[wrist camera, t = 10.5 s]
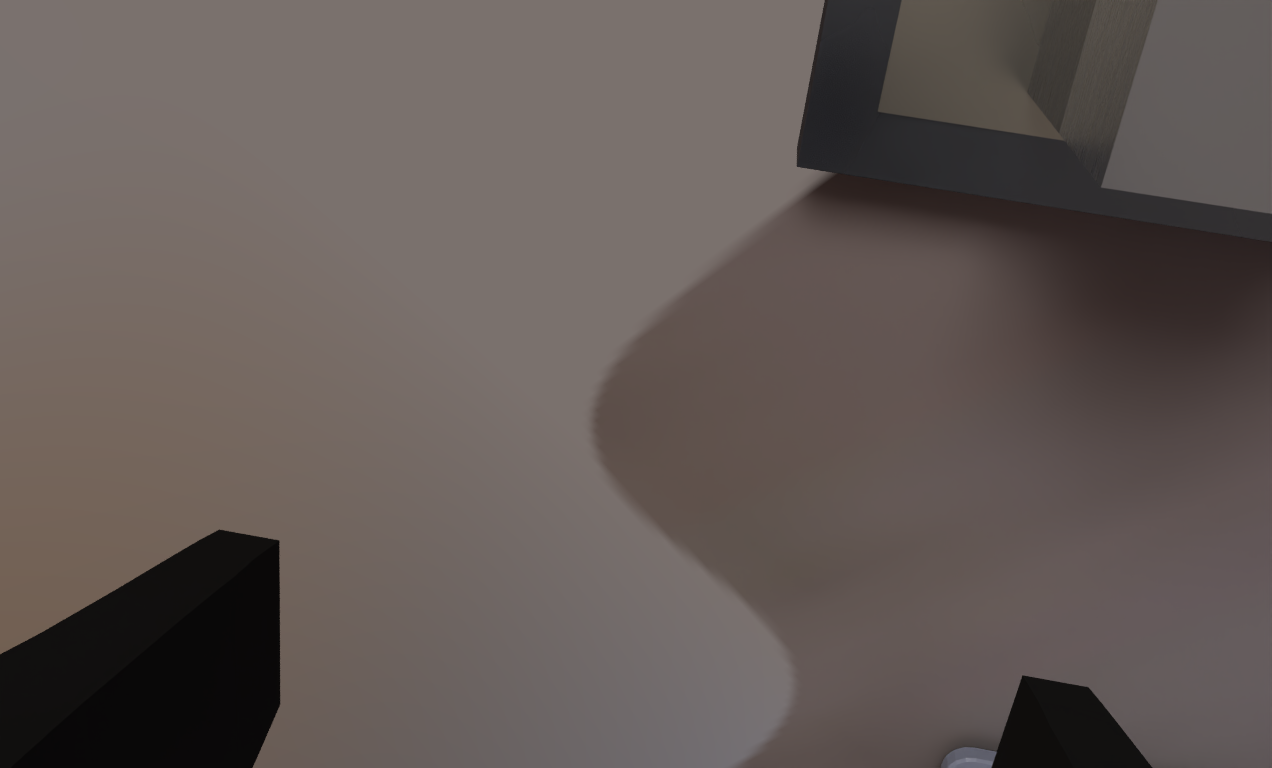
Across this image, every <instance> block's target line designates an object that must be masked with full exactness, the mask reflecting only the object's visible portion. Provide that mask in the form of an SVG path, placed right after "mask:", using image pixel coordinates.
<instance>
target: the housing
mask: <svg viewBox="0 0 1272 768" xmlns="http://www.w3.org/2000/svg"><path fill="white" fill-rule="evenodd" d="M1027 93H1028V94H1029V96H1030V97H1031V98H1032V100H1033V101H1034V102H1035V103H1036V105H1037V106H1038V107H1039V109H1040V110H1041V111H1042V112H1043V114H1044V115H1045V116H1046V118H1047V119H1048V120H1049V121H1050V123H1051V124H1052V125H1053V127H1054V128H1055V129H1056V130H1057V132H1058V133H1059V134H1060V135H1061V137H1062V138H1063V139H1064V141H1065V142H1066V143H1067V144H1068V146H1069V147H1070V148H1071V150H1072V151H1073V152H1074V153H1075V155H1076V156H1077V157H1078V159H1079V160H1080V161H1081V162H1082V164H1083V165H1084V166H1085V168H1086V169H1087V170H1088V171H1089V173H1090V174H1091V175H1092V177H1093V178H1094V179H1095V180H1096V182H1097V183H1098V184H1099V185H1100V187H1101V188H1108V189H1114V190H1121V191H1127V192H1134V193H1140V194H1147V195H1153V196H1160V197H1166V198H1173V199H1179V200H1186V201H1192V202H1199V203H1205V204H1212V205H1218V206H1224V207H1231V208H1237V209H1244V210H1250V211H1257V212H1263V213H1270V214H1272V0H1052V2H1051V5H1050V9H1049V13H1048V17H1047V20H1046V24H1045V28H1044V32H1043V36H1042V39H1041V43H1040V47H1039V51H1038V54H1037V58H1036V62H1035V66H1034V69H1033V73H1032V77H1031V81H1030V84H1029V88H1028V92H1027Z"/></svg>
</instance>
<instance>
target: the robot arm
mask: <svg viewBox="0 0 1272 768" xmlns="http://www.w3.org/2000/svg"><path fill="white" fill-rule="evenodd" d="M279 584H280V582H279V540H273V539H268V538H262V537H257V536H251V535H246V534H240V533H235V532H229V531H224V530H218V531H216V532H214V533H212V534H210V535H208V536H207V537H205V538H203V539H201V540H199V541H197V542H196V543H194V544H192V545H190V546H189V547H187V548H185V549H184V550H182V551H180V552H178V553H177V554H175V555H173V556H172V557H170V558H168V559H167V560H165V561H163V562H162V563H160V564H158V565H157V566H155V567H153V568H152V569H150V570H148V571H146V572H145V573H143V574H141V575H140V576H138V577H136V578H135V579H133V580H132V581H130V582H128V583H126V584H125V585H123V586H121V587H120V588H118V589H116V590H115V591H113V592H111V593H109V594H108V595H106V596H104V597H102V598H101V599H99V600H97V601H96V602H94V603H92V604H90V605H89V606H87V607H85V608H83V609H82V610H80V611H79V612H77V613H75V614H73V615H71V616H70V617H68V618H66V619H65V620H63V621H61V622H59V623H57V624H56V625H54V626H52V627H50V628H49V629H47V630H45V631H44V632H42V633H40V634H38V635H36V636H35V637H32V638H31V639H29V640H27V641H25V642H23V643H21V644H19V645H17V646H15V647H13V648H12V649H10V650H8V651H6V652H4V653H2V654H0V768H252V767H253V765H254V763H255V761H256V759H257V757H258V754H259V752H260V750H261V747H262V745H263V743H264V740H265V738H266V736H267V733H268V731H269V729H270V727H271V724H272V722H273V720H274V717H275V715H276V713H277V710H278V708H279V706H280V595H279V594H280V585H279ZM941 768H1152V767H1151V765H1150V764H1149V763H1148V762H1147V760H1146V759H1145V758H1144V756H1143V755H1142V754H1141V753H1140V751H1139V750H1138V749H1137V748H1136V746H1135V745H1134V744H1133V742H1132V741H1131V740H1130V739H1129V737H1128V736H1127V735H1126V733H1125V732H1124V731H1123V730H1122V728H1121V727H1120V726H1119V724H1118V723H1117V722H1116V721H1115V719H1114V718H1113V717H1112V716H1111V714H1110V713H1109V712H1108V711H1107V709H1106V708H1105V707H1104V706H1103V704H1102V703H1101V702H1100V701H1099V699H1098V698H1097V697H1096V696H1095V695H1094V693H1093V692H1092V691H1091V690H1090V689H1089V688H1088V687H1083V686H1078V685H1072V684H1067V683H1061V682H1056V681H1050V680H1045V679H1039V678H1034V677H1028V676H1022V679H1021V682H1020V685H1019V688H1018V691H1017V694H1016V697H1015V700H1014V703H1013V706H1012V708H1011V711H1010V714H1009V717H1008V720H1007V723H1006V726H1005V729H1004V732H1003V735H1002V738H1001V741H1000V744H999V747H998V750H997V752H996V751H990V750H985V749H980V748H974V747H962V748H959V749H955V750H953V751H952V752H950V753H949V754H947V755H946V757H945V758H944V760H943V762H942V765H941Z"/></svg>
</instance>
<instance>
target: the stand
mask: <svg viewBox="0 0 1272 768" xmlns="http://www.w3.org/2000/svg"><path fill="white" fill-rule="evenodd" d="M1051 2H1052V0H825V3H824V8H823V13H822V18H821V24H820V29H819V35H818V40H817V45H816V51H815V55H814V61H813V66H812V72H811V77H810V82H809V87H808V93H807V98H806V103H805V109H804V114H803V119H802V124H801V130H800V136H799V140H798V146H797V167H802V168H808V169H814V170H821V171H827V172H833V173H840V174H846V175H852V176H859V177H865V178H871V179H877V180H884V181H890V182H896V183H903V184H909V185H915V186H922V187H928V188H934V189H941V190H947V191H953V192H959V193H966V194H972V195H978V196H985V197H991V198H997V199H1004V200H1010V201H1016V202H1023V203H1029V204H1035V205H1041V206H1048V207H1054V208H1060V209H1067V210H1073V211H1079V212H1086V213H1092V214H1098V215H1105V216H1111V217H1117V218H1123V219H1130V220H1136V221H1142V222H1149V223H1155V224H1161V225H1168V226H1174V227H1180V228H1187V229H1193V230H1199V231H1205V232H1212V233H1218V234H1224V235H1231V236H1237V237H1243V238H1250V239H1256V240H1262V241H1269V242H1272V214H1270V213H1263V212H1257V211H1250V210H1244V209H1237V208H1231V207H1224V206H1218V205H1212V204H1205V203H1199V202H1192V201H1186V200H1179V199H1173V198H1166V197H1160V196H1153V195H1147V194H1140V193H1134V192H1127V191H1121V190H1114V189H1108V188H1101V187H1100V185H1099V184H1098V183H1097V182H1096V180H1095V179H1094V178H1093V177H1092V175H1091V174H1090V173H1089V171H1088V170H1087V169H1086V168H1085V166H1084V165H1083V164H1082V162H1081V161H1080V160H1079V159H1078V157H1077V156H1076V155H1075V153H1074V152H1073V151H1072V150H1071V148H1070V147H1069V146H1068V144H1067V143H1066V142H1065V141H1064V139H1063V138H1062V137H1061V135H1060V134H1059V133H1058V132H1057V130H1056V129H1055V128H1054V127H1053V125H1052V124H1051V123H1050V121H1049V120H1048V119H1047V118H1046V116H1045V115H1044V114H1043V112H1042V111H1041V110H1040V109H1039V107H1038V106H1037V105H1036V103H1035V102H1034V101H1033V100H1032V98H1031V97H1030V96H1029V94H1028V93H1027V92H1028V88H1029V84H1030V81H1031V77H1032V73H1033V69H1034V66H1035V62H1036V58H1037V54H1038V51H1039V47H1040V43H1041V39H1042V36H1043V32H1044V28H1045V24H1046V20H1047V17H1048V13H1049V9H1050V5H1051Z"/></svg>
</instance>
